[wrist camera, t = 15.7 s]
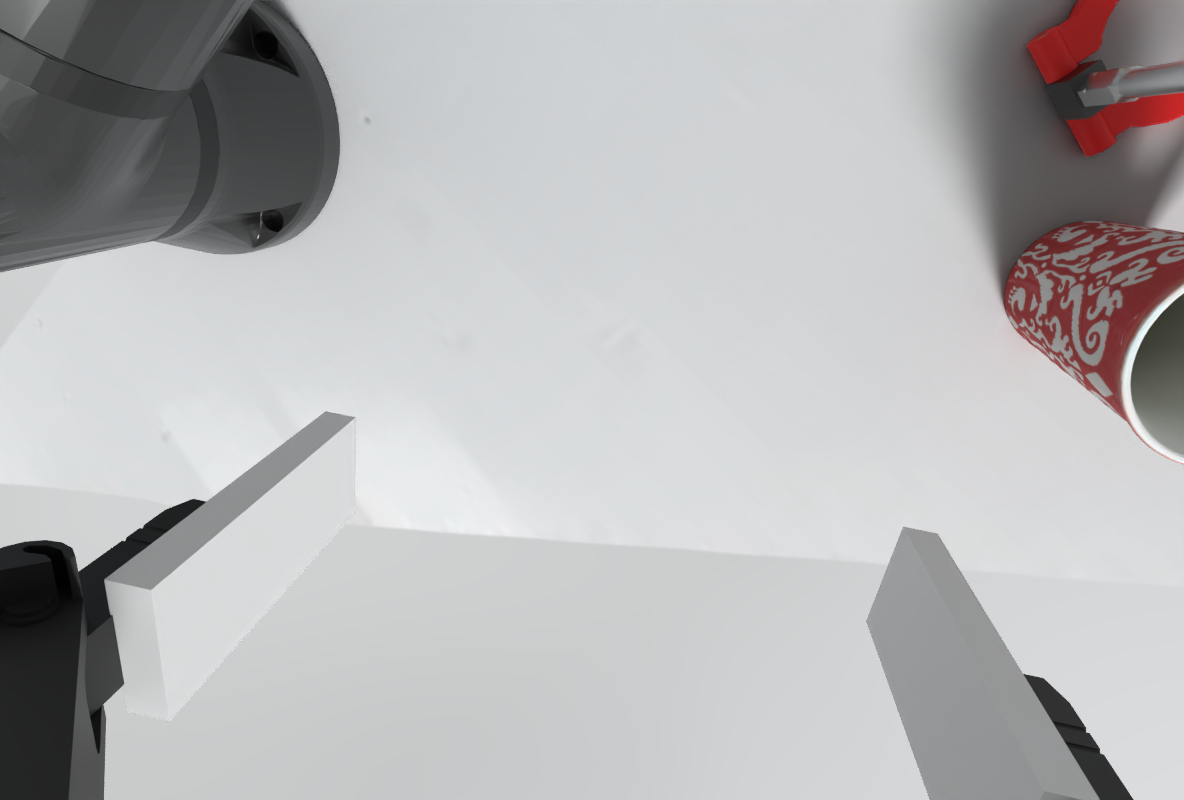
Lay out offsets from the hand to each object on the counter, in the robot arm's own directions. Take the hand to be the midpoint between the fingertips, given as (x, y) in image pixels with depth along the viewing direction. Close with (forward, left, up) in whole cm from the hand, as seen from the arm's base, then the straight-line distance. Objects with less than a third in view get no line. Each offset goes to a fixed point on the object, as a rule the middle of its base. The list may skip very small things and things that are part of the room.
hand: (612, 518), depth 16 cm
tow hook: (+21, +16, -27) cm, 38 cm away
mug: (+24, +5, -27) cm, 36 cm away
